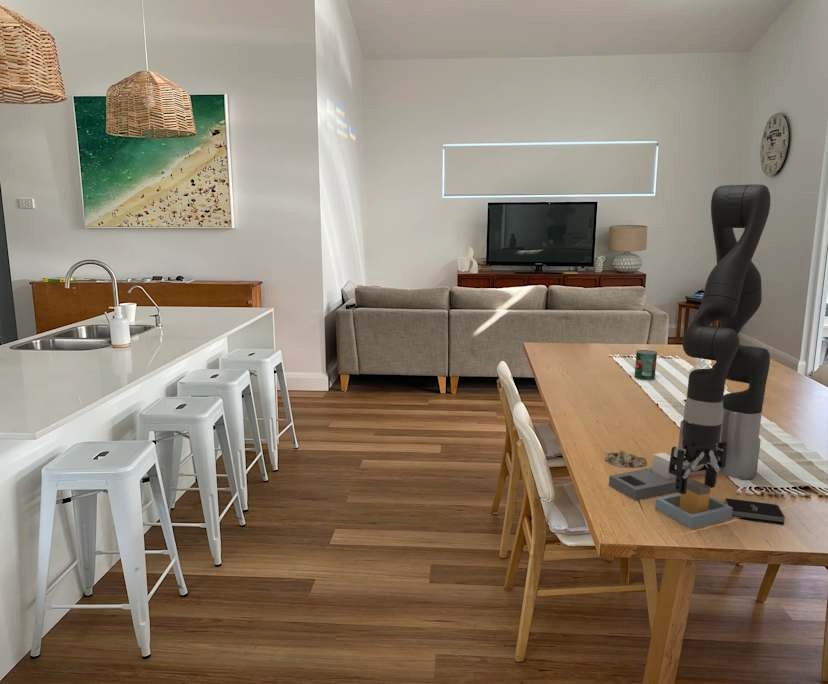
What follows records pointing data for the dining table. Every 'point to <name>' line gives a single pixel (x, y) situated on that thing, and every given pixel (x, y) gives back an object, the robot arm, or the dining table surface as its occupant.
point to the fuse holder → (642, 484)
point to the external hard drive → (756, 511)
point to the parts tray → (713, 515)
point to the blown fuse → (695, 497)
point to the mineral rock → (625, 460)
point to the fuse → (662, 465)
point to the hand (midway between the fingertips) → (695, 489)
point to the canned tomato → (645, 364)
